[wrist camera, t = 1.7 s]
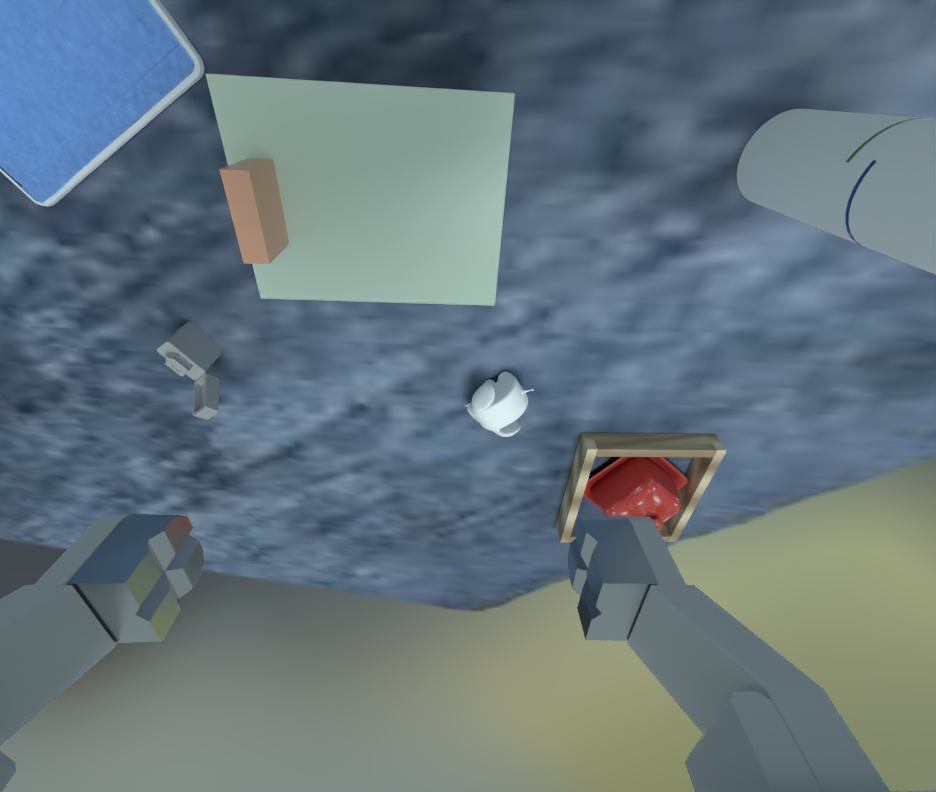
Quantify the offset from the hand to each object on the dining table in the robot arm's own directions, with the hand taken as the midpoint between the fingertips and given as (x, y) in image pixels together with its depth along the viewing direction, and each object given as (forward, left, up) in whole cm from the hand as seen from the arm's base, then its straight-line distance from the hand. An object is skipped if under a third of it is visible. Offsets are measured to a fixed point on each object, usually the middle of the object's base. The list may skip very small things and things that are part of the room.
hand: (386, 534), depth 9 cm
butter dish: (+35, +28, -35) cm, 57 cm away
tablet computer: (-8, -27, -35) cm, 45 cm away
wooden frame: (+36, +28, -34) cm, 57 cm away
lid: (-1, -3, -25) cm, 26 cm away
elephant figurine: (+20, +8, -35) cm, 41 cm away
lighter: (+16, -22, -35) cm, 44 cm away
